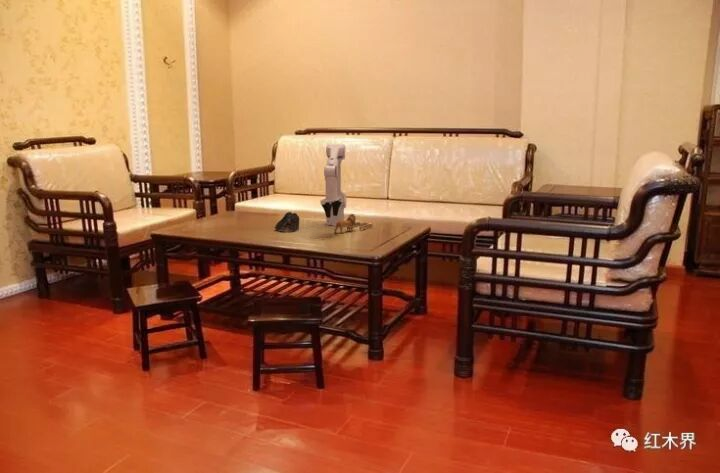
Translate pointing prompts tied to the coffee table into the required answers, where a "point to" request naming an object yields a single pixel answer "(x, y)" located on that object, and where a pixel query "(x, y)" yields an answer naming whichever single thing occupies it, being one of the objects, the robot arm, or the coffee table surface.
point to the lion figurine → (346, 223)
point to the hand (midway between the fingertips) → (331, 216)
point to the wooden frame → (362, 225)
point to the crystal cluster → (288, 223)
